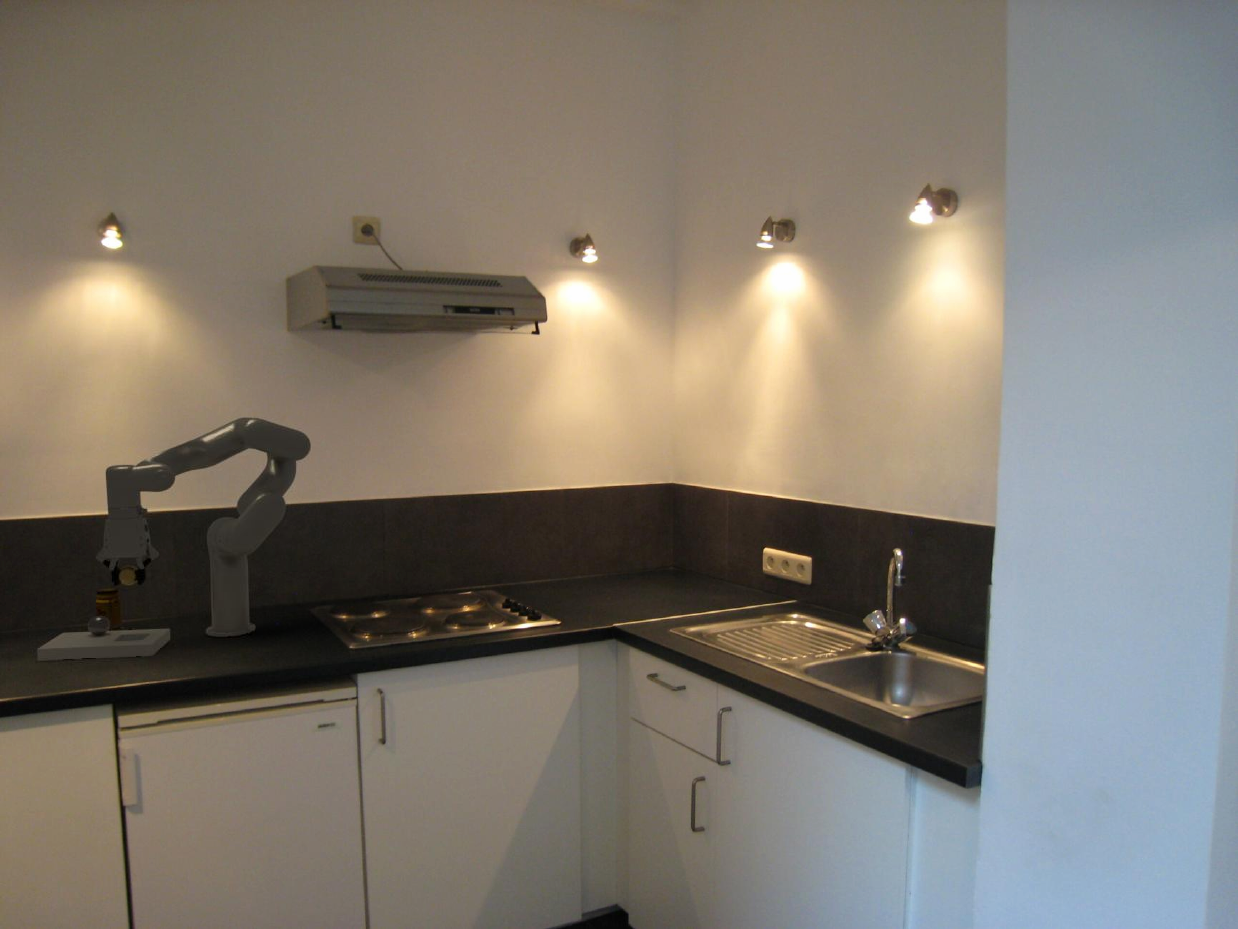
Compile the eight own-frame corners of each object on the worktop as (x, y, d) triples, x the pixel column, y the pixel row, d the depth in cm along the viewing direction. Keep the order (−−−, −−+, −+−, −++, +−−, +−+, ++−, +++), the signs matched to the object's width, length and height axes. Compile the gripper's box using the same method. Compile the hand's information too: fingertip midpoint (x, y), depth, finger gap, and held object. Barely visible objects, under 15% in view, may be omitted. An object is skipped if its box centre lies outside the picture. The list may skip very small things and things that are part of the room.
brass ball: (122, 583, 241) (120, 564, 241) (143, 582, 242) (141, 563, 241) (115, 587, 236) (114, 568, 236) (136, 586, 237) (135, 567, 237)
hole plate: (63, 644, 244) (63, 632, 244) (170, 639, 249) (169, 628, 249) (37, 661, 229) (37, 649, 228) (152, 656, 234) (151, 644, 233)
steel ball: (92, 633, 244) (91, 614, 244) (113, 632, 245) (112, 613, 245) (85, 637, 239) (84, 618, 239) (106, 637, 240) (105, 617, 240)
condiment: (89, 634, 255) (87, 590, 254) (114, 627, 263) (113, 584, 262) (110, 636, 253) (108, 592, 252) (135, 629, 261) (133, 586, 260)
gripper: (165, 510, 243) (169, 579, 244) (94, 513, 240) (98, 583, 241) (156, 514, 235) (160, 585, 237) (82, 517, 232) (87, 589, 234)
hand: (129, 583), depth 239 cm, fingers closed on brass ball, 5 cm apart
